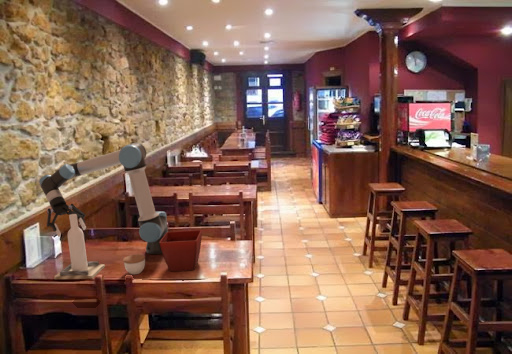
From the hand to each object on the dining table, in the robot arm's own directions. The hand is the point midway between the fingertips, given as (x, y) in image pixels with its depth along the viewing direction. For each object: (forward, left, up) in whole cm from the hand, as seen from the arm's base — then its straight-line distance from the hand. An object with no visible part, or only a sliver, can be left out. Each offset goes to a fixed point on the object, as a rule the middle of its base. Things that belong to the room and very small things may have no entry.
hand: (72, 231), depth 247 cm
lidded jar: (-32, +2, -22) cm, 39 cm away
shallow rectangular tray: (-2, +1, -22) cm, 22 cm away
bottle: (-2, +1, -21) cm, 21 cm away
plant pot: (-56, -4, -22) cm, 60 cm away
